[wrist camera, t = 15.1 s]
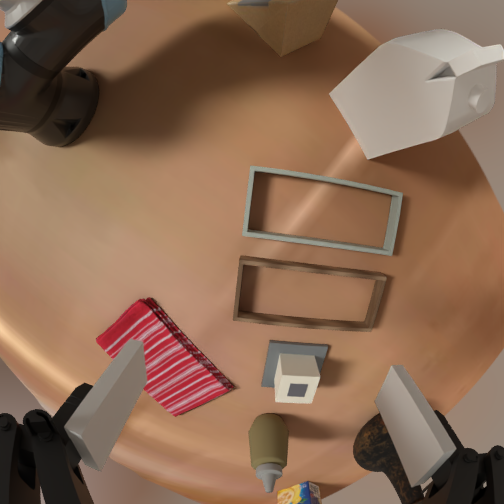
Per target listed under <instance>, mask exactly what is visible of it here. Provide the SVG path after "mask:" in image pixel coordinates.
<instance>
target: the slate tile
mask: <svg viewBox="0 0 504 504" xmlns="http://www.w3.org/2000/svg"><path fill="white" fill-rule="evenodd" d="M327 349H328V345H327V344H312V343H298V342H286V341H275V340H270V341H269V347H268V352H267V358H266V363H265V368H264V374H263V379H262V385H261V387H273V388H275V384H274V378H275V374H276V369H277V364H278V360H279V355H280V353H284V354H297V355H314V356H315V360H316V363H317V367H318V370H319V374H320V372H321V368H322V365H323V362H324V359H325V355H326V352H327Z"/></svg>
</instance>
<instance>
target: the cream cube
mask: <svg viewBox="0 0 504 504" xmlns="http://www.w3.org/2000/svg"><path fill="white" fill-rule="evenodd" d="M319 380H320V374H319V370H318V367H317V363H316V360H315V356H314V355H297V354H284V353H280V355H279V360H278V364H277V369H276V374H275V378H274V384H275V402H285V403H312V400H313V397H314V394H315V391H316V389H317V386H318V383H319Z"/></svg>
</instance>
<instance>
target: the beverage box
mask: <svg viewBox="0 0 504 504" xmlns="http://www.w3.org/2000/svg"><path fill="white" fill-rule="evenodd" d="M277 497H278V504H322V503H321V496H320V489H319V486H317V485H315V484H313V483H311V482H309V481H307V482H304V483H301V484H298V485H295V486H292V487H289V488H286V489H283V490H280V491H277Z"/></svg>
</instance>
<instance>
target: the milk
mask: <svg viewBox="0 0 504 504" xmlns="http://www.w3.org/2000/svg"><path fill="white" fill-rule="evenodd" d="M503 60H504V49H503V47H502V46H501V44H499V45H493V46H487V47H481V46H479V45H478V44H476V43H474V42H473V41H471V40H469V39H467V38H465V37H464V36H462V35H460V34H458V33H456V32H454V31H450V30H444V29H437V30H431V31H425V32H420V33H415V34H411V35H406V36H402V37H397V38H394V39H392V40H390V41H388V42H386V43H384V44H382V45H380V46H379V47H378V48H377V49H375V50H374V51H373V52H372V53H371V54H370V55H369V56H368V57H367V58H366V59H365V60H364V61H362V62H361V63H360V64H359V65H358V66H357V67H356V68H355V69H354V70H353V71H352V72H351V73H350V74H349V75H348V76H347V77H346V78H345V79H344V80H343V81H342V82H340V83H339V84H338V85H337V86H336V87H335V88H334V89H333V90H332V91H331V92H330V93H329V95H330V97H331V98H332V100H333V101H334V103H335V104H336V106H337V108H338V109H339V111H340V112H341V114H342V116H343V117H344V119H345V120H346V122H347V124H348V125H349V127H350V129H351V131H352V132H353V134H354V136H355V138H356V139H357V141H358V143H359V145H360V147H361V148H362V150H363V152H364V154H365V156H366V158H367V160H368V159H371V158H375V157H378V156H381V155H384V154H388V153H391V152H394V151H398V150H401V149H405V148H408V147H412V146H415V145H419V144H422V143H426V142H429V141H433V140H436V139H439V138H441V137H444V136H446V135H448V134H451V133H453V132H455V131H457V130H458V129H460V128H462V127H464V126H466V125H467V124H469V123H471V122H473V121H475V120H477V119H478V118H480V117H482V116H484V115H486V114H488V113H489V112H490V111H491V109H492V108H493V106H494V103H495V94H496V64H498V63H500V62H501V61H503Z"/></svg>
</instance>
